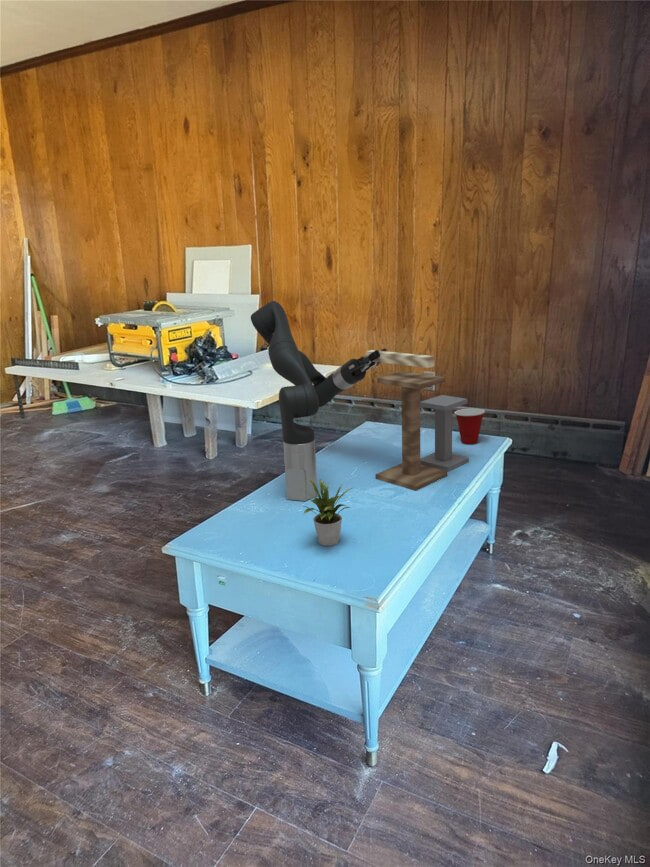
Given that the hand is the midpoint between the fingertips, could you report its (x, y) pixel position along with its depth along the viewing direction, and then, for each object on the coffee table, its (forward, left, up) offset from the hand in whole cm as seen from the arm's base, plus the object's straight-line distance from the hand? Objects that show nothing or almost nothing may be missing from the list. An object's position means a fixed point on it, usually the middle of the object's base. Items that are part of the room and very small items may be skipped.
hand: (382, 352), depth 185 cm
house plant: (-53, +1, -39) cm, 66 cm away
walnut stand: (-5, -10, -39) cm, 40 cm away
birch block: (-3, -6, -3) cm, 7 cm away
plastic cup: (+35, -22, -39) cm, 57 cm away
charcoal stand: (+11, -17, -39) cm, 44 cm away
